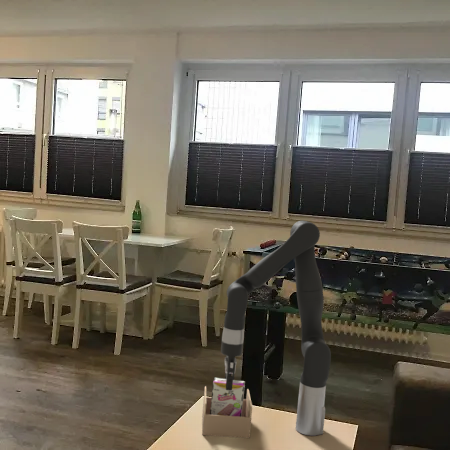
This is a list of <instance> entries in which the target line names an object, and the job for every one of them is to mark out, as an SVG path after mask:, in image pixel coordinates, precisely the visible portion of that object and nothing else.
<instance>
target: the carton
mask: <svg viewBox="0 0 450 450" xmlns="http://www.w3.org/2000/svg"><path fill="white" fill-rule="evenodd" d="M245 397H246V398H243V407H242V417H240V416H224V415H210V410H211V399H212V396H207V385H205V386H204V393H203V400H202V401H203V403H202V416H201V417H202V419H201V421H202V422H201V424H202V427H201V429H202V430H201V431H202V432H201V434H202V435H203V436H214V437H229V438H230V437H231V438H244V439H247V438H248V439H250V437H251V427H252V414H253V402H252V400H251V394H250V390H249V388H247V389H246V396H245Z"/></svg>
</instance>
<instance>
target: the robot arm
mask: <svg viewBox="0 0 450 450" xmlns="http://www.w3.org/2000/svg"><path fill="white" fill-rule="evenodd" d="M320 234H321V233H320V229H319V228H318V226H317V225H316V224H315V223H313V222H311V221H308V220H298V221H296V222H295V223H294V224H293V225H292V226H291V228H290V234H289V237H288V239H287V240H286V241H285V242H283V244H281V245H280V246H278V248H277V249H275V250H274V251H272V252H270V253H269V254H267V255H266V256H264V257H263V258H262V259H260V260H259V261H258V262H257V263H255V264H254V265H253V266H252V267H251V268H250V269H249V270H248V271H247V272H246V273H244V274H242V275H241V276H240V277H239V278H237V279H236V280H235V281H233V282H231V284H230V285H228V287H227V290H226V296H227V303H226V304H227V306H226V312H225V315H224V324H223V330H222V334H221V344H220V345H221V346H220V353H221V354H222V355H224V356H225V357H224V367H225V368H224V370H225V371H224V372H225V374H224V379H226V390H232V385H233V380H235V374H236V369H237V368H236V366H237V363H238V362H237V358H236V357H240V356H241V355H242V354H243V349H244V338H245V321H246V320H245V319H246V311H247V307H248V301H249V295H250V294H251V293H252V292H253V291H254V290H255V289H259V288H261V287H263V286H264V284H266V283H268V282H269V280H270V279H272V278H273V277H274V276H275V275H277V273H278V272H279V271H281V270H282V269H283V268H284V267H285V266H286V265H287V264H289V263H290V262H291V261H292V260H294V263H295V265H294V266H295V267H294V268H295V289H296V298H297V306H298V313H299V318H300V319H299V320H300V323H301V347H300V348H301V354H302V356H303V358H304V359H303V368H302V373H301V374H300V377H299V390H298V400H297V410H296V411H297V412H296V420H295V430H296V431H297V432H298V433H300V434H303V435H305V436H319V435H323V434H324V426H325V416H326V407H325V399H326V388H327V382H328V380H329V377H330V376H329V375H330V368H331V361H332V358H331V357H332V353H331V349H330V347H329V346H328V344H327V343H326V341H325V337H324V332H323V325H322V317H323V312H324V289H323V288H324V287H323V281H322V278H321V274H320V270H319V268H318V264H317V261H316V251H315V245H317V244H318V242H319V240H320V237H321V235H320Z"/></svg>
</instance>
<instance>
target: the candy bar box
mask: <svg viewBox="0 0 450 450" xmlns="http://www.w3.org/2000/svg"><path fill="white" fill-rule="evenodd" d="M245 384H246V381H244V380H236V379H234V380H233V385H232V390H226V379H225V378H222V377H214V379H213V382H212V389H211V392H212V393H211V397H212V399H211V410H210V415H224V416H240V417H242V407H243V399H244V394H245V388H246V387H245V386H246V385H245Z"/></svg>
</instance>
